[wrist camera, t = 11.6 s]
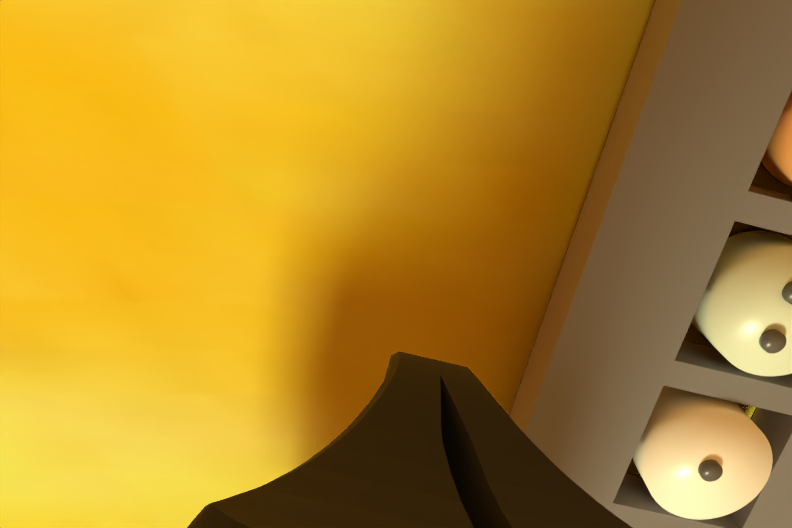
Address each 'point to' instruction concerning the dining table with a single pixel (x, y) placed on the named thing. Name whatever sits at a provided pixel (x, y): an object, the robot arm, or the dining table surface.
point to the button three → (781, 147)
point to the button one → (702, 455)
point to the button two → (751, 303)
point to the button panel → (665, 258)
